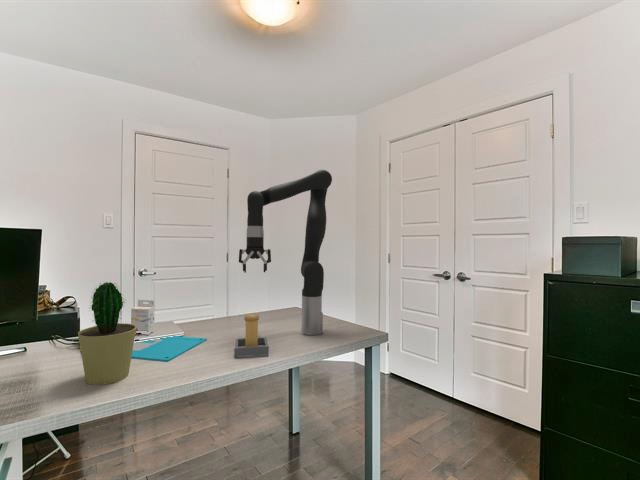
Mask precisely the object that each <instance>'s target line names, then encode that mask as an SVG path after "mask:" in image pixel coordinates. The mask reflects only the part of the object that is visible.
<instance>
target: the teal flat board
mask: <svg viewBox="0 0 640 480" xmlns="http://www.w3.org/2000/svg"><path fill="white" fill-rule="evenodd" d="M172 336H173V337H166V338H160V339H154V340H148V341H144V342H136V343H134V344H133V351H132V357H131V359H135V360H145V361H156V362H170V361H172V360H174V359H176V358H177V357H179V356H181V355H183V354H184V353H185V354H186V352H188V351H190V350H192V349H194V348H196V347H197V346H199V345H201V344H203V343H204V342H207V341H208V338H206V337H194V336H193V337H192V336H180V335H179V336H178V335H172Z"/></svg>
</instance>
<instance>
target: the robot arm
mask: <svg viewBox="0 0 640 480" xmlns="http://www.w3.org/2000/svg"><path fill="white" fill-rule="evenodd" d="M332 182H333V176H332V174H331V172H329V171H328V170H326V169H318V170H317V171H314V172H313V173H310V174H307V175H306V176H304V177H302V178H299V179H295V180H291V181H287V182H284V183H281V184H277V185H274V186H270V187H269V188H267V189H264V190H261V191H259V190H258V191H257V190H253V191H251V192H250V193H248V195H247V199H246V201H247V203H246V204H247V221H246V223H247V224H246V225H247V226H246V227H247V228H246V248H245V249H242V248H240V249H239V253H238V263H239V264H242V272H243V273H246V274H247V262H248V261H249V260H250V259H252V260H255V259H256V260H258V259H259V260H261V261H262V263H263V273H266V272H267V271H268V263H269V264H270V263H271V262H272V257H271V256H272V254H271V252H272V251H271V249H269V248H268V249H264V248H265V247H264V240H265V238H264V236H265V235H264V233H265V232H264V215H263V213H264V207H265V206H267V205H270V204H272V203H276V202H281V201H284V200H287V199H289V198H292V197H294V196H295V197H296V196H297V195H299V194H302V193H305V192H310V193H309V194H310V199H309V205H308V210H307V217H306V226H305V237H304V239H305V240H304V251H303V257H302V262H301V265H300V273H301V276H302V277H303V288H302V290H301V334H303V335H306V336H317V335H321V334H323V332H324V331H323V330H324V329H323V327H324V326H323V325H324V323H323V322H324V319H323V318H324V315H323V314H324V313H323V311H322V310H323V309H322V307H323V305H322V304H323V300H322V299H323V290H324V282H325V279H324V277H325V273H324V271H325V270H324V266H323V265H322V264H321V263H320V249H321V246H322V244H323V242H324V239H325V235H326V229H327V210H326V201H327V200H326V197H327V192H328V189H329V187H330V186H331V184H332ZM244 254H246V257H245V259H242V258H243V255H244ZM264 254H266V255H267V260H266V259H265V258H264Z"/></svg>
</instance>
